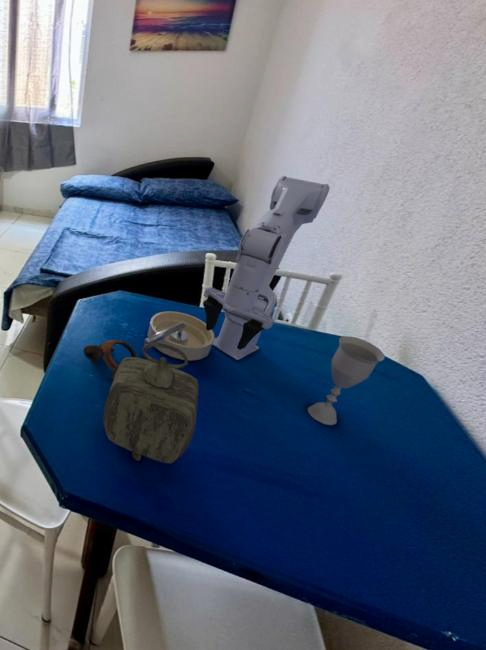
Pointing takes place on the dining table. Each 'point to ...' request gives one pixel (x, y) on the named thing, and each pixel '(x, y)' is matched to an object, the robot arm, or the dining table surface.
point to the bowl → (195, 328)
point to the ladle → (174, 334)
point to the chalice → (347, 373)
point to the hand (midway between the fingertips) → (224, 338)
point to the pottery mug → (106, 353)
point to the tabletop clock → (152, 407)
